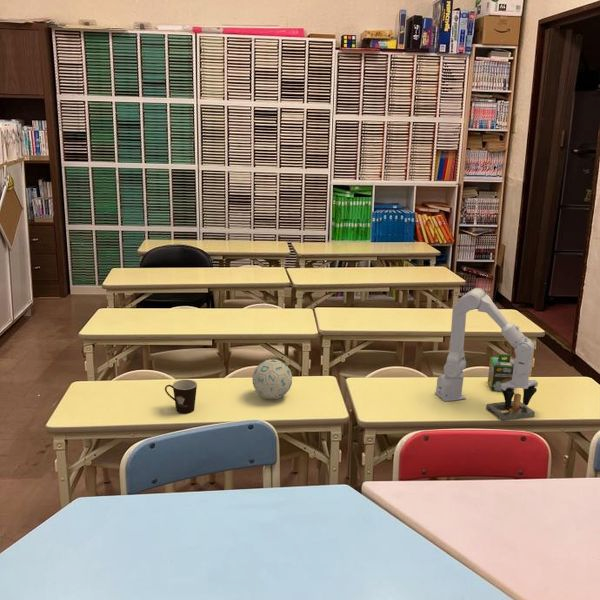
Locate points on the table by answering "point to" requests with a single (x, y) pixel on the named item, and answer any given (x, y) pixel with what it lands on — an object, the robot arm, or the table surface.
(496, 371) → the chalk box
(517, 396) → the peg
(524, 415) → the keyhole plate
